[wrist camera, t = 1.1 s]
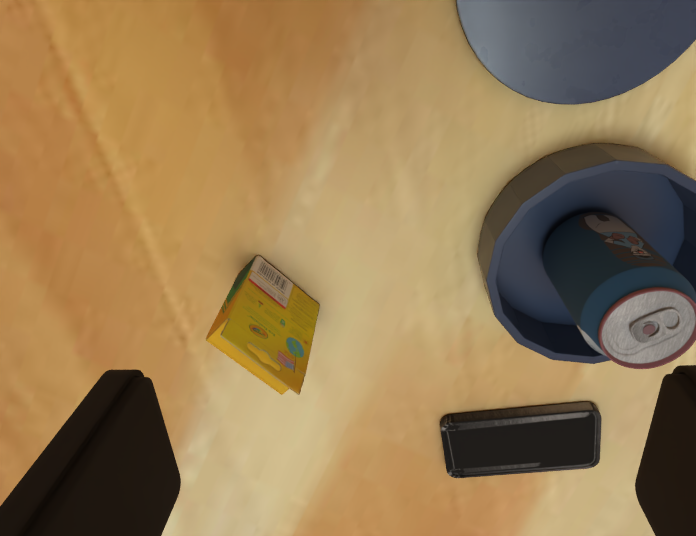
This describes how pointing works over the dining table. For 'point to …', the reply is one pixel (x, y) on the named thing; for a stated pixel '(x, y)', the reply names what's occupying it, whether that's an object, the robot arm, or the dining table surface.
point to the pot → (562, 204)
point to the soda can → (621, 291)
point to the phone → (522, 440)
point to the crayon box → (267, 326)
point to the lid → (577, 43)
